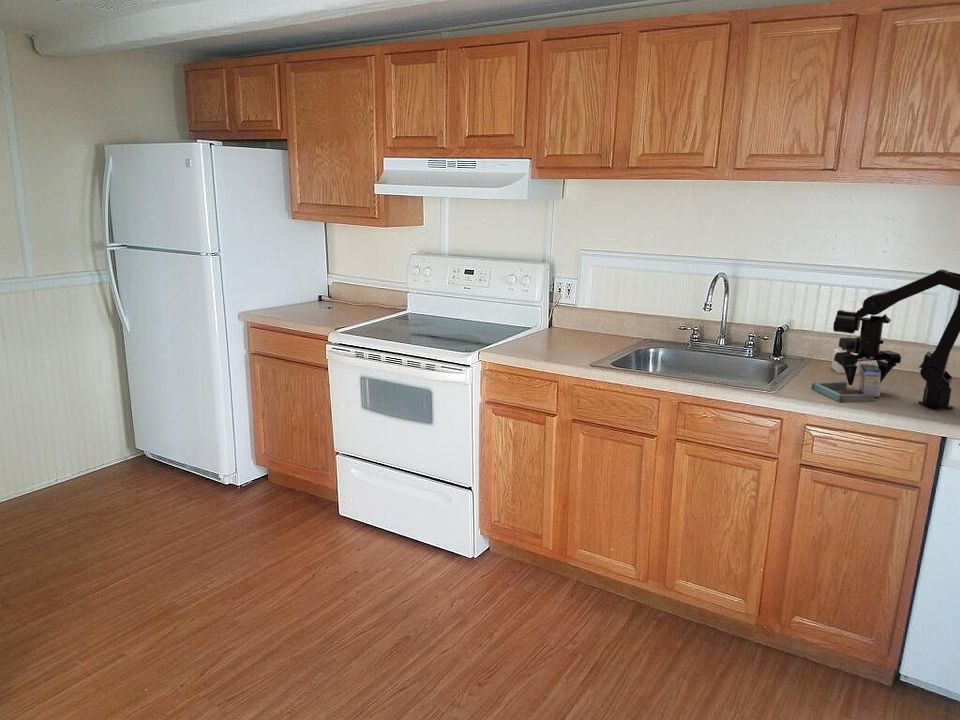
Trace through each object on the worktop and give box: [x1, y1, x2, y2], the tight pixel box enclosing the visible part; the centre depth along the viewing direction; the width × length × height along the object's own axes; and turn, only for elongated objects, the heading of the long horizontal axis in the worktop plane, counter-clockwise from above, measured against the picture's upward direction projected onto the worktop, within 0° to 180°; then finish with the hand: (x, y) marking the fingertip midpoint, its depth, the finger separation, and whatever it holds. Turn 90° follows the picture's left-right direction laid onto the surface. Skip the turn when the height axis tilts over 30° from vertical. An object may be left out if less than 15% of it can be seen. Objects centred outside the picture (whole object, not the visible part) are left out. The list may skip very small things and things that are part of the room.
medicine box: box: [859, 363, 881, 398], centre depth 221 cm, size 8×4×9 cm, turn 162°
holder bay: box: [811, 381, 875, 403], centre depth 221 cm, size 14×11×2 cm
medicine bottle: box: [831, 336, 862, 375], centre depth 247 cm, size 7×7×12 cm
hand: (864, 384), depth 222 cm, fingers open, 9 cm apart
